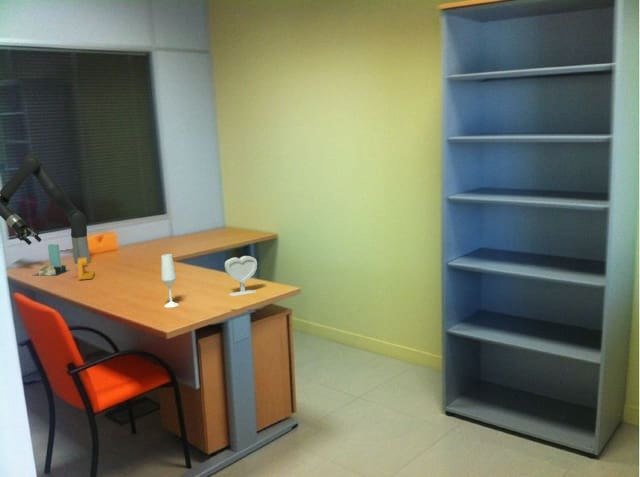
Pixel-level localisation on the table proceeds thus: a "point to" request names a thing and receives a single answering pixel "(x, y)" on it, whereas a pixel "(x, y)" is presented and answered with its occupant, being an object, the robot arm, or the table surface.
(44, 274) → the block
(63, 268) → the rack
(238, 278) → the heart sculpture
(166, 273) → the champagne flute
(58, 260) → the teal rectangular slab
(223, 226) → the table surface
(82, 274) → the bracket
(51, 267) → the offcut top
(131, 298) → the table surface
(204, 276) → the table surface
